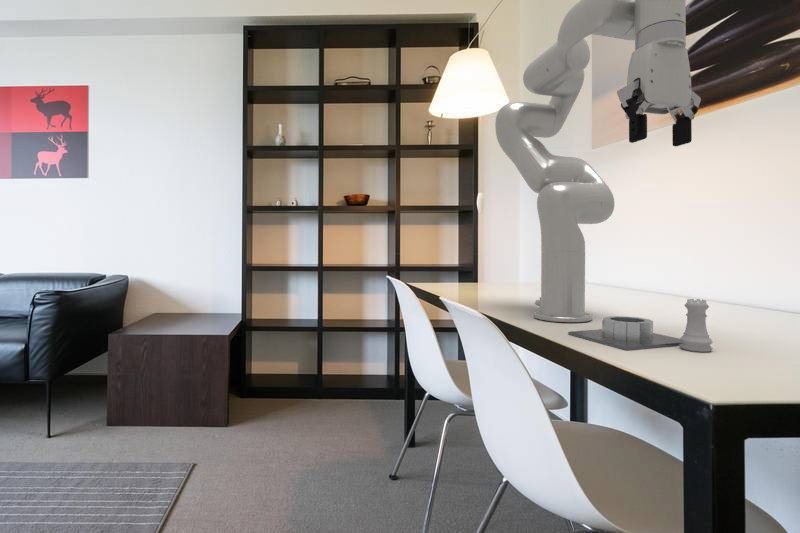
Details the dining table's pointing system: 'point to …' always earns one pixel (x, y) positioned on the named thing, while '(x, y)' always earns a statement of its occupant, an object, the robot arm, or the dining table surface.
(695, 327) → the rook chess piece
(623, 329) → the socket
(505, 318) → the dining table surface
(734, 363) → the dining table surface
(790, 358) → the dining table surface
